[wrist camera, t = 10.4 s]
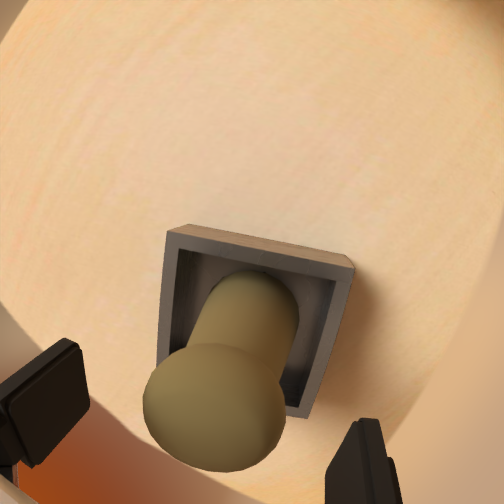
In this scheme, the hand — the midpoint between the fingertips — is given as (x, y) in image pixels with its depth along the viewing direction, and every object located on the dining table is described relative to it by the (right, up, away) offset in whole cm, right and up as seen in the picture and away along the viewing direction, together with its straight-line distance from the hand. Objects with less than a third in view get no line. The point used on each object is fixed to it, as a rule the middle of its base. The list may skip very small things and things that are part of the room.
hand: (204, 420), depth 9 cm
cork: (+2, +1, +11) cm, 11 cm away
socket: (+2, +1, +11) cm, 12 cm away
